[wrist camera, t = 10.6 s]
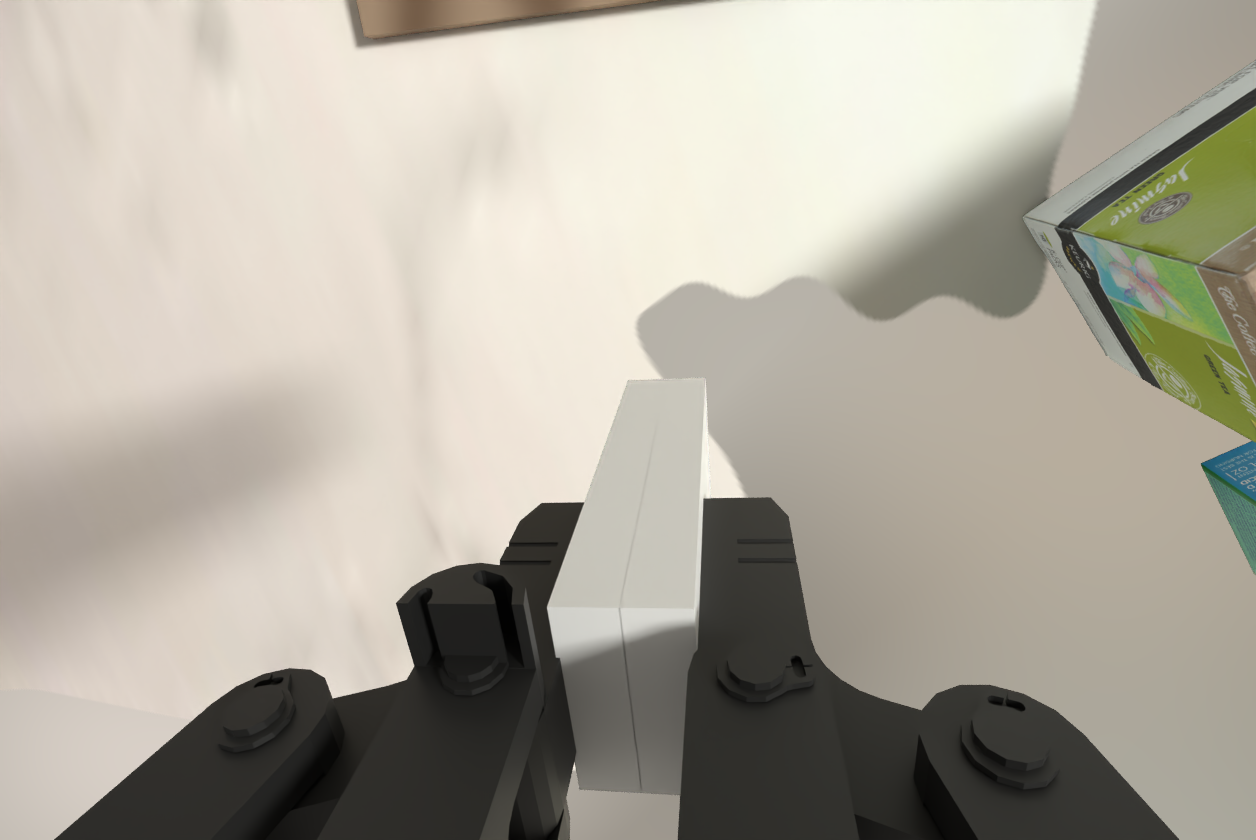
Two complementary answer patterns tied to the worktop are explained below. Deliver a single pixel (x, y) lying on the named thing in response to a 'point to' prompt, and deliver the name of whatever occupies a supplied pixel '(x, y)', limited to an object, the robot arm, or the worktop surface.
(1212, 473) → the milk carton
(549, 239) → the worktop surface
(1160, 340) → the tea box
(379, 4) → the wooden stand
